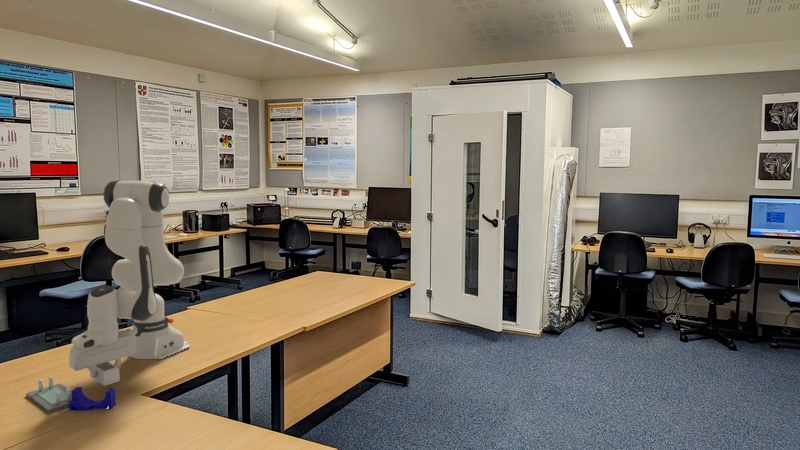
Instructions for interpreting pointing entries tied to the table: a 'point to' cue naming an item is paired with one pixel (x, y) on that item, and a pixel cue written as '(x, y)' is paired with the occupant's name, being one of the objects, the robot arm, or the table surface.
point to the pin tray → (51, 396)
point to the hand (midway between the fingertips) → (104, 373)
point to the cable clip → (91, 401)
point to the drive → (106, 373)
